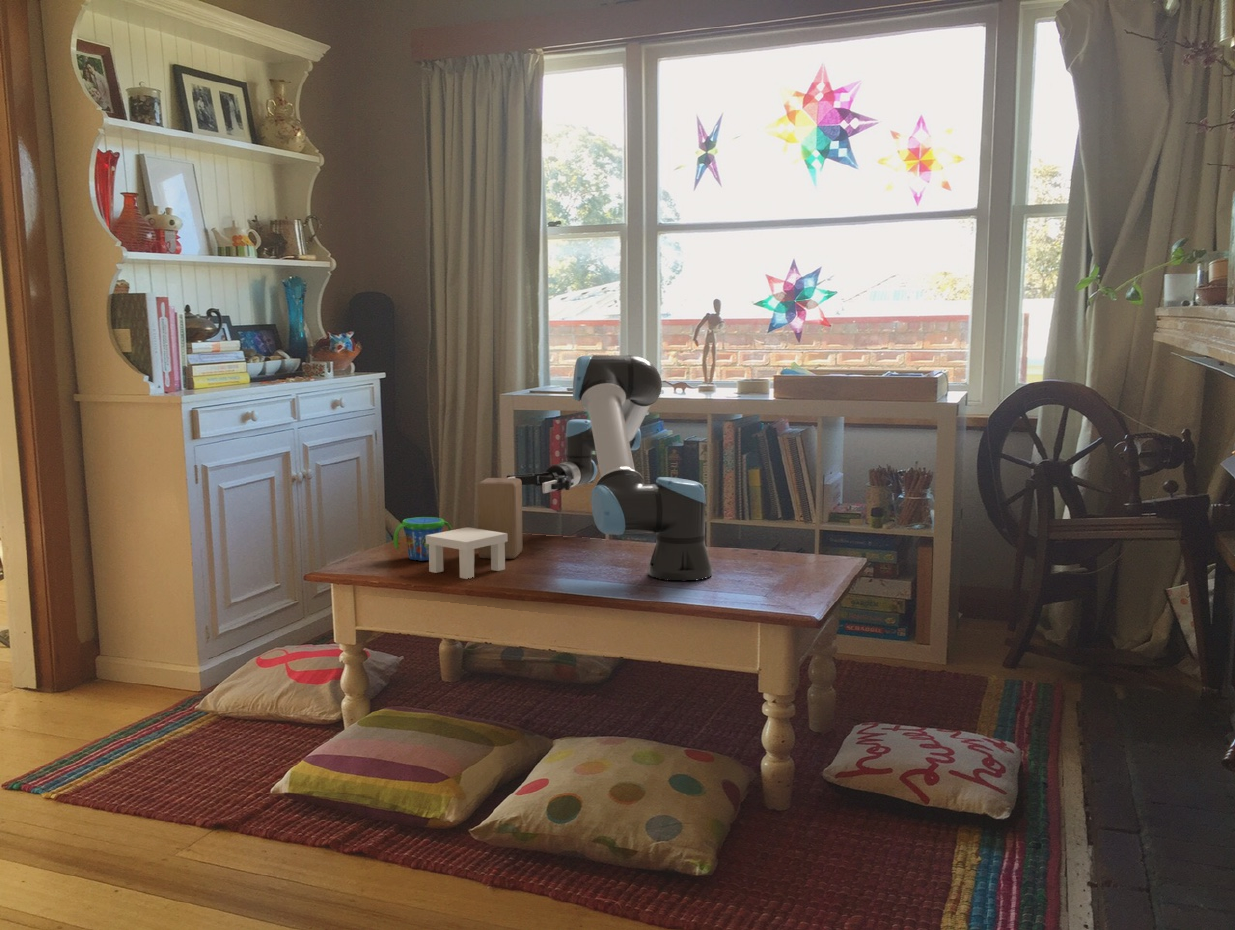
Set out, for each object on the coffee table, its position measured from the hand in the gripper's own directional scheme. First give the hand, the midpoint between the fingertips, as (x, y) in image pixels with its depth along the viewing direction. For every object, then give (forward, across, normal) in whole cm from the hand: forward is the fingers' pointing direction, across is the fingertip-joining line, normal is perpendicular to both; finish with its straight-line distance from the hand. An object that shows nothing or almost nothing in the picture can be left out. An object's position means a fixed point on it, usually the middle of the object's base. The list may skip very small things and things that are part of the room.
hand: (522, 486), depth 277 cm
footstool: (+30, -3, -17) cm, 35 cm away
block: (+11, -1, -17) cm, 20 cm away
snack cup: (+24, +15, -17) cm, 33 cm away
